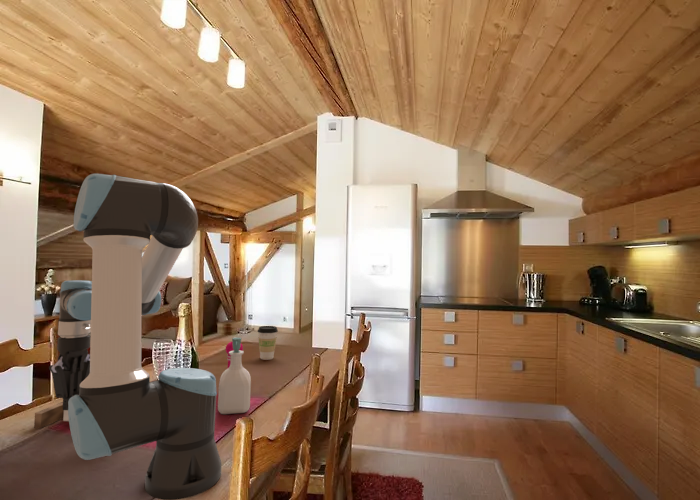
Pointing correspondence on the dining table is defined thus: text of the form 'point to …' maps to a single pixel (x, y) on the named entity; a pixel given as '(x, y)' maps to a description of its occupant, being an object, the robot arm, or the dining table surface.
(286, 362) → the dining table surface
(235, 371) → the white bottle
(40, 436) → the dining table surface
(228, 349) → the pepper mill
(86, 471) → the dining table surface
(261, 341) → the coffee cup
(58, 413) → the chute
